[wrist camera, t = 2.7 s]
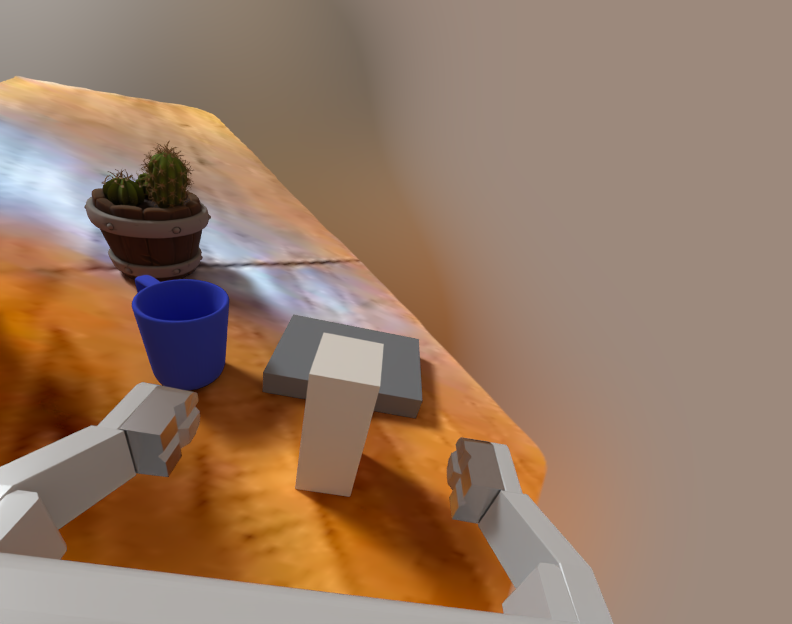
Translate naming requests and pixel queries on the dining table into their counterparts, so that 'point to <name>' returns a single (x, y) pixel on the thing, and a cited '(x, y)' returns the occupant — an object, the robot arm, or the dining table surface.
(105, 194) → the flowerpot
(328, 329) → the block
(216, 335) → the mug
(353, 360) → the block
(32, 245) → the dining table surface
